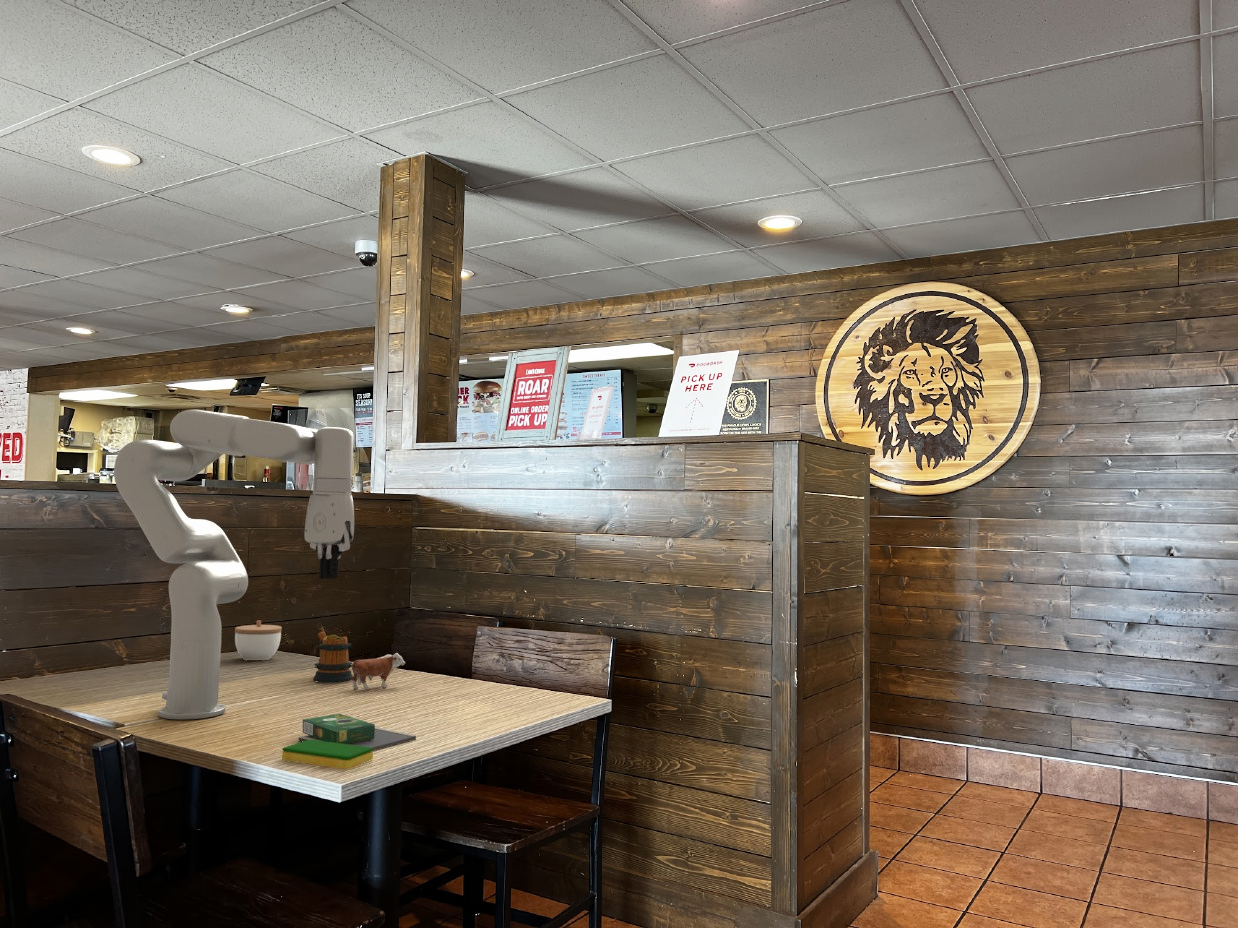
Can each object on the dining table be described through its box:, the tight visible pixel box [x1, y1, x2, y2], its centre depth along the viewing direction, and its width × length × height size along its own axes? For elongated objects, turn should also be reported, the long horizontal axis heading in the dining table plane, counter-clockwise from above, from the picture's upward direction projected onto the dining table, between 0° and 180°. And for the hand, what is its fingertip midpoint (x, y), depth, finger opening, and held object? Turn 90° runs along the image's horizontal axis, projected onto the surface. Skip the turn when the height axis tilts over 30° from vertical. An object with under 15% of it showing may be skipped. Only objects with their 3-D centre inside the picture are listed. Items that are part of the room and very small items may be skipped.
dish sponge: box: [281, 739, 374, 770], centre depth 152 cm, size 7×14×2 cm, turn 69°
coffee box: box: [302, 713, 376, 744], centre depth 165 cm, size 8×3×13 cm
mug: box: [313, 631, 354, 684], centre depth 228 cm, size 13×10×12 cm
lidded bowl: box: [234, 620, 283, 661], centre depth 257 cm, size 13×13×11 cm
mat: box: [297, 726, 417, 751], centre depth 166 cm, size 16×14×1 cm
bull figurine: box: [351, 652, 406, 691], centre depth 218 cm, size 4×13×8 cm, turn 127°
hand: (328, 578), depth 180 cm, fingers closed
